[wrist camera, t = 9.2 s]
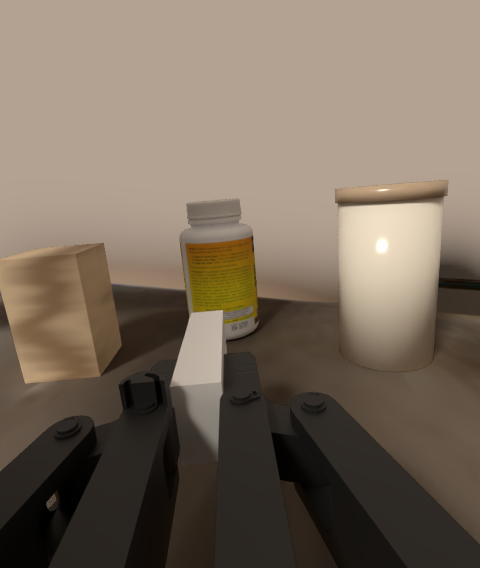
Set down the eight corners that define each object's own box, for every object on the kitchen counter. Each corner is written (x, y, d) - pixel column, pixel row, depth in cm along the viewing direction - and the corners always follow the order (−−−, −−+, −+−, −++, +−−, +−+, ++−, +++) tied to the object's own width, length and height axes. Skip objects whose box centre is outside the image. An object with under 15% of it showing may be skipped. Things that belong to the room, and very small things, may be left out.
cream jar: (319, 355, 28) (315, 190, 25) (362, 326, 33) (363, 186, 30) (415, 384, 23) (426, 182, 20) (449, 345, 28) (461, 178, 25)
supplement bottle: (272, 332, 34) (264, 196, 30) (204, 350, 31) (187, 203, 28) (241, 313, 40) (232, 198, 37) (183, 326, 37) (167, 204, 34)
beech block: (25, 383, 28) (-8, 260, 25) (60, 350, 34) (36, 248, 31) (100, 376, 28) (75, 253, 25) (122, 345, 34) (103, 243, 31)
